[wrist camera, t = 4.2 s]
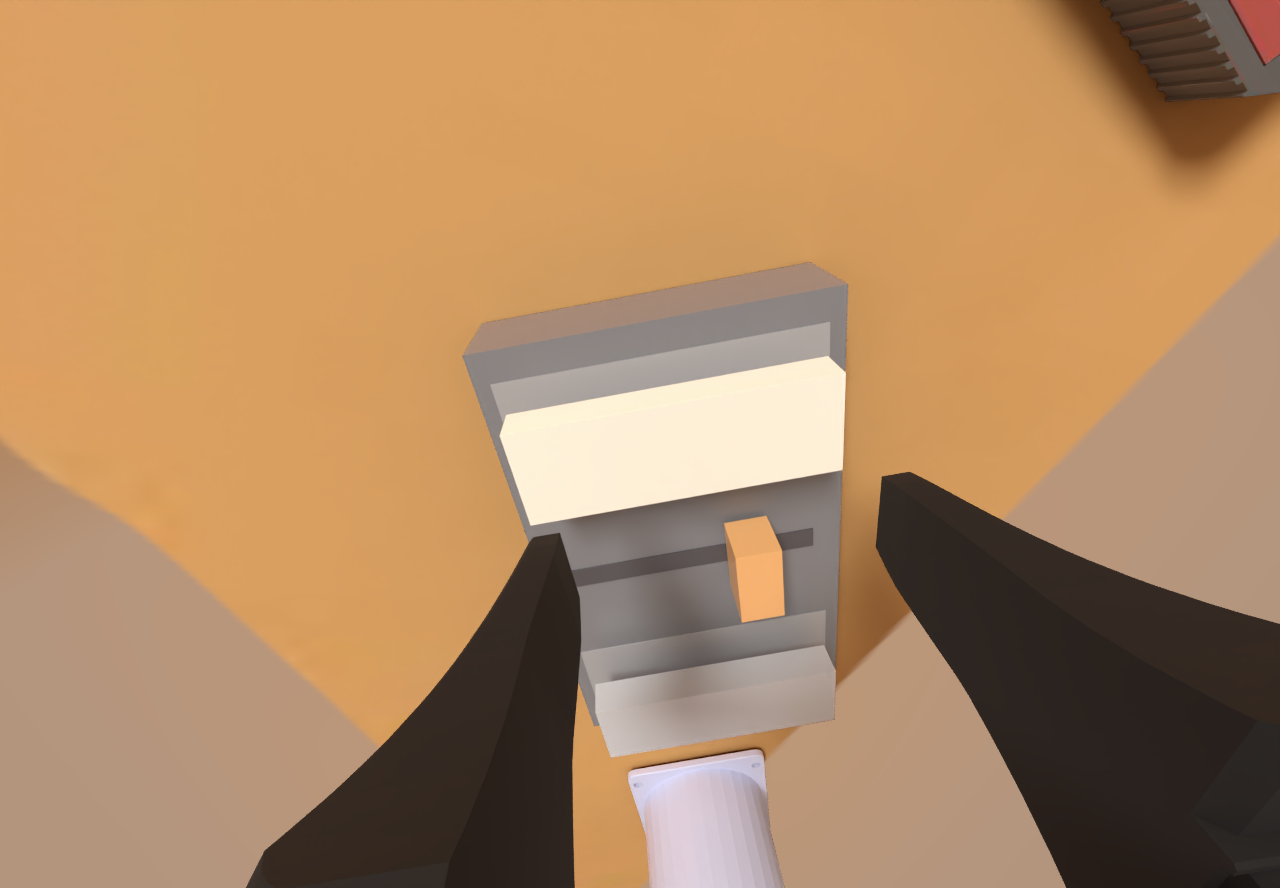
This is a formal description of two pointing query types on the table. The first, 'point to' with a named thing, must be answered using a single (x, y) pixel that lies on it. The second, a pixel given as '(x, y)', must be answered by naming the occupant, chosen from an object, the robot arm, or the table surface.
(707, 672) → the grey bar
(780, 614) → the orange rectangular block
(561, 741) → the robot arm
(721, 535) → the panel
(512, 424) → the cream bar
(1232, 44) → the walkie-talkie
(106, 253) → the table surface
